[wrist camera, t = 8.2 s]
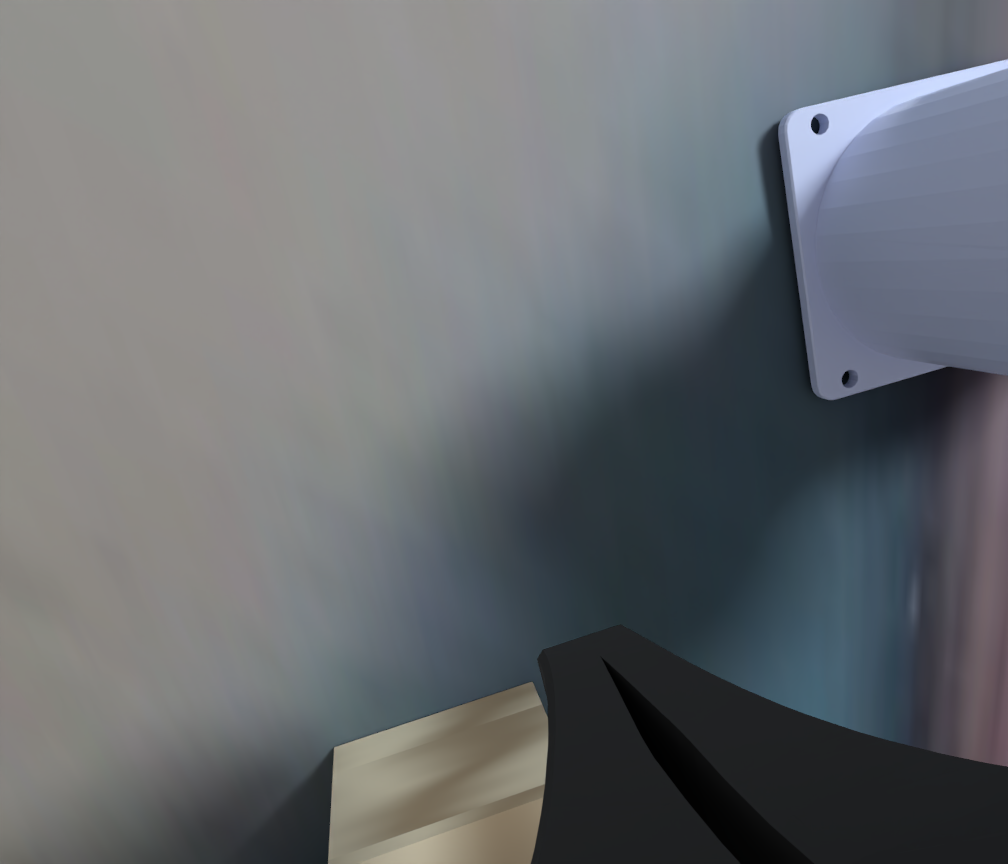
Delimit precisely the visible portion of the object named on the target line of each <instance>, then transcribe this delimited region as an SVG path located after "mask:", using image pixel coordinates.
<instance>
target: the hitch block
mask: <svg viewBox="0 0 1008 864" xmlns="http://www.w3.org/2000/svg"><path fill="white" fill-rule="evenodd" d="M547 752H548V717H547V715H546V712H545V710H544V708H543V705H542V703H541V701H540V698H539V696H538V694H537V691H536V689H535V687H534V684H533V682H529V683H526V684H523V685H520V686H517V687H514V688H511V689H508V690H505V691H502V692H499V693H496V694H493V695H490V696H487V697H484V698H481V699H478V700H475V701H472V702H469V703H466V704H463V705H460V706H457V707H454V708H451V709H448V710H445V711H442V712H439V713H436V714H433V715H430V716H427V717H424V718H421V719H418V720H415V721H412V722H409V723H406V724H403V725H400V726H397V727H394V728H391V729H388V730H385V731H382V732H379V733H376V734H373V735H370V736H367V737H364V738H361V739H358V740H355V741H352V742H349V743H346V744H343V745H340V746H337V747H334V760H333V779H332V798H331V817H330V836H329V854H328V864H531V861H532V856H533V852H534V848H535V843H536V838H537V833H538V827H539V822H540V816H541V810H542V803H543V795H544V788H545V777H546V764H547Z"/></svg>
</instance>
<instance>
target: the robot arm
mask: <svg viewBox="0 0 1008 864" xmlns="http://www.w3.org/2000/svg"><path fill="white" fill-rule="evenodd" d="M813 117H815V118H816V119H818V121H819V124H820V129H819V132H818V133H817V135H816V134H815V133H814V132H813V131H812V128H811V120H812V119H813ZM778 137H779V144H780V152H781V160H782V167H783V175H784V182H785V190H786V197H787V205H788V213H789V220H790V228H791V235H792V243H793V250H794V258H795V266H796V273H797V281H798V288H799V296H800V303H801V311H802V319H803V326H804V334H805V341H806V349H807V356H808V364H809V372H810V379H811V386H812V389H813V392H814V393H815V394H816V395H817V396H818V397H820V398H823V399H826V400H836V399H840V398H843V397H846V396H850V395H853V394H856V393H860V392H863V391H867V390H870V389H873V388H877V387H880V386H883V385H887V384H890V383H894V382H897V381H900V380H904V379H907V378H911V377H914V376H917V375H921V374H924V373H927V372H931V371H934V370H938V369H941V368H944V367H948V366H950V367H956V368H962V369H969V370H975V371H981V372H988V373H994V374H1000V375H1007V376H1008V59H1007V60H1003V61H999V62H995V63H990V64H986V65H982V66H978V67H973V68H969V69H965V70H961V71H956V72H952V73H948V74H944V75H940V76H935V77H931V78H927V79H923V80H918V81H914V82H910V83H906V84H901V85H897V86H893V87H889V88H884V89H880V90H876V91H872V92H867V93H863V94H859V95H855V96H851V97H846V98H842V99H838V100H834V101H829V102H825V103H821V104H817V105H812V106H808V107H804V108H800V109H797V110H794V111H792V112H790V113H788V114H786V115H785V116H784V117H783V118H782V120H781V122H780V125H779V128H778ZM846 371H848V372H849V380H848V381H847V383H846V384H844V385H843V384H842V376H843V374H844V373H845V372H846ZM537 660H538V664H539V668H540V672H541V676H542V680H543V684H544V687H545V691H546V695H547V701H548V752H547V764H546V777H545V788H544V795H543V803H542V810H541V816H540V822H539V827H538V833H537V838H536V843H535V848H534V852H533V856H532V861H531V864H1008V767H1006V766H1000V765H994V764H988V763H983V762H978V761H974V760H969V759H964V758H959V757H954V756H949V755H945V754H940V753H936V752H932V751H928V750H924V749H920V748H916V747H912V746H908V745H904V744H900V743H896V742H892V741H888V740H885V739H881V738H878V737H874V736H871V735H867V734H864V733H860V732H857V731H854V730H851V729H848V728H845V727H842V726H839V725H836V724H833V723H830V722H827V721H824V720H821V719H818V718H815V717H812V716H809V715H806V714H803V713H801V712H798V711H795V710H793V709H790V708H787V707H785V706H782V705H780V704H778V703H775V702H773V701H771V700H768V699H766V698H764V697H761V696H759V695H756V694H754V693H752V692H749V691H747V690H745V689H742V688H740V687H738V686H736V685H734V684H732V683H730V682H727V681H725V680H723V679H721V678H719V677H717V676H715V675H713V674H711V673H709V672H707V671H705V670H703V669H701V668H699V667H697V666H695V665H693V664H691V663H689V662H687V661H686V660H684V659H682V658H680V657H678V656H676V655H675V654H673V653H671V652H669V651H667V650H665V649H664V648H662V647H660V646H658V645H657V644H655V643H653V642H651V641H649V640H648V639H646V638H644V637H642V636H641V635H639V634H637V633H635V632H633V631H632V630H630V629H628V628H626V627H624V626H623V625H621V624H620V625H617V626H614V627H611V628H608V629H605V630H602V631H599V632H596V633H593V634H590V635H587V636H583V637H580V638H577V639H574V640H571V641H568V642H565V643H562V644H559V645H556V646H553V647H550V648H547V649H544V650H542V652H541V654H540V655H539V657H538V659H537Z"/></svg>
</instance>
